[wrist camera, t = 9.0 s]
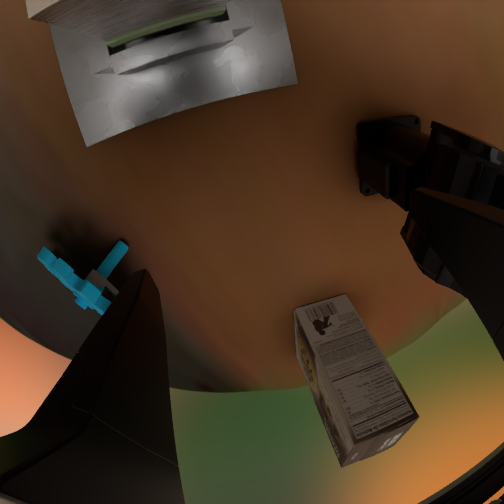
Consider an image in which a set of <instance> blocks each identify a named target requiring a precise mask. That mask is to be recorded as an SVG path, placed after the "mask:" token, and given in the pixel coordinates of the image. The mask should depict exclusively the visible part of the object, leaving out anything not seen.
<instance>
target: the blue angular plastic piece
mask: <svg viewBox="0 0 504 504" xmlns="http://www.w3.org/2000/svg"><path fill="white" fill-rule="evenodd" d="M128 249H129V248H128V246H127V245H126V244H125V243H123V242H122V241H118V243H117V244H116V245H115V246H114V248H113V249H112V250H111V252H110V253H109V254H108V256H107V257H106V258H105V260H104V261H103V262H102V264H101V265H100V266H99V268H98V269H97V270H94V269H92V271H91V272H90V273H89V275H88V276H87V277H86V279H85V280H82V279H80V278H79V277H78V276H77V275H75V274H74V273H73V272H74V270H73V269H72V268H71V267H70V266H69V265H68V264H67V263H65V262H64V261H63V260H62V259H61V258H58V260H57V258H56V257H55V256H54V254H53V253H52V252H50V251H49V250H48V249H47V248H45V247H43V248H42V250H41V251H40V252H39V254H38V255H37V258H38V259H39V260H40V261H41V262H42V263H43V264H44V266H45V267H46V268H47V269H48V270H49V271H50V272H51V273H53V274H54V275H55V276H56V277H57V278H58V279H59V280H60V281H61V282H62V283H63V284H64V285H65V286H66V287H68V288H69V289H70V290H72V291H73V294H74V295H75V296H77V299H76V300H75V302H76V303H77V304H78V305H80V306H81V307H82V308H83V309H86V308H87V306H89V307H90V308H92V309H96V310H97V312H98V313H100V314H101V315H103V314H104V312H105V311H106V309H107V308H108V307H109V305H110V304H111V301H109V300H107V299H106V298H104V297H103V296H102V295H101V293H102V291H103V290H104V289H105V290H107V291H108V292H109V293H110V294H111V295H112V296H113V297H114V298H115V297H116V296H117V294H118V293H119V291H118V290H117V289H116V288H115V287H114V286H113V285H112V284H111V283H110V282H109V281H108V280H107V277H108V276H109V275H110V273H111V272H112V271H113V269H114V268H115V266H116V265H117V264H118V262H119V261H120V260H121V258H122V257H123V256H124V254H125V253H126V252H127V250H128Z"/></svg>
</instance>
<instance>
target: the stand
mask: <svg viewBox="0 0 504 504" xmlns="http://www.w3.org/2000/svg"><path fill="white" fill-rule="evenodd" d="M225 7H226V10H225V12H224V13H223V14H222V15H219V16H217V17H216V18H211V19H207V20H202V21H198V22H194V23H190V24H186V25H182V26H179V27H175V28H171V29H168V30H165V31H161V32H158V33H155V34H152V35H149V36H146V37H143V38H140V39H138V40H135V41H132V42H129V43H127V44H124V45H122V46H115V47H110V46H107V45H106V42H105V41H103V40H100V39H98V38H95V37H92V36H89V35H86V34H83V33H80V32H76V31H73V30H70V29H66V28H63V27H60V26H56V25H52V24H49V25H50V29H51V34H52V38H53V42H54V46H55V50H56V54H57V58H58V61H59V65H60V69H61V72H62V76H63V79H64V82H65V86H66V89H67V92H68V95H69V98H70V101H71V104H72V107H73V110H74V113H75V116H76V119H77V122H78V125H79V127H80V130H81V133H82V136H83V138H84V141H85V143H86V146H87V147H88V146H91V145H93V144H95V143H97V142H100V141H102V140H104V139H107V138H109V137H111V136H114V135H116V134H119V133H121V132H124V131H126V130H129V129H131V128H134V127H137V126H139V125H142V124H145V123H147V122H150V121H153V120H156V119H159V118H162V117H165V116H168V115H171V114H174V113H177V112H180V111H183V110H186V109H190V108H193V107H197V106H200V105H204V104H207V103H211V102H215V101H218V100H222V99H226V98H230V97H234V96H239V95H243V94H248V93H252V92H257V91H262V90H267V89H272V88H277V87H283V86H289V85H295V84H298V80H297V75H296V70H295V64H294V59H293V54H292V49H291V45H290V40H289V35H288V31H287V26H286V22H285V17H284V13H283V9H282V5H281V1H280V0H228V1H227V3H226V4H225Z"/></svg>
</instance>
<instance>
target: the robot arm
mask: <svg viewBox="0 0 504 504" xmlns="http://www.w3.org/2000/svg"><path fill="white" fill-rule="evenodd" d="M414 120H415V123H414ZM363 126H365V129H364V130H362V127H363ZM430 128H432V129H431V134H430V136H428V135H426V134H424V133H422V132H420V118H419V117H418V116H415V115H408V116H399V117H391V118H383V119H375V120H368V121H362V122H359V123H358V125H357V136H358V150H357V156H358V176H359V178H360V191H361V193H362V194H363V195H364V196H369V195H373V194H377V193H379V194H381V195H382V196H383V197H385V198H386V199H391V200H392V201H394V202H395V203H396V204H397V205H399V206H400V207H401V208H402V209H404V210H405V211H409V213H408V216H407V219H406V222H405V224H404V226H403V227H402V229H401V232H400V234H401V236H402V238H403V239H404V241H405V243H406V245H407V247H408V249H409V251H410V253H411V254H412V256H413V259H414V261H415V262H416V264H417V266H418V267H419V269H420V270H421V271H422V273H423V274H424V275H426V276H428V277H429V278H431V279H432V280H434V281H435V282H436V283H438V284H440V285H443V286H446V287H449V288H451V289H453V290H455V291H456V292H458V293H460V294H462V295H463V296H464V297H466V298H467V299H468V300H469V302H470V303H471V305H472V306H473V308H474V309H475V311H476V313H477V314H478V316H479V318H480V319H481V321H482V323H483V324H484V326H485V328H486V329H487V331H488V333H489V334H490V336H491V338H492V339H493V342H494V344H495V346H496V347H497V349H498V351H499V353H500V355H501V357H502V359H503V361H504V152H503V151H501V150H500V149H498V148H496V147H495V146H493V145H491V144H489V143H487V142H485V141H483V140H480V139H478V138H476V137H474V136H472V135H469V134H467V133H465V132H462V131H460V130H457V129H454V128H452V127H449V126H446V125H444V124H441V123H438V122H435V121H432V122H431V127H430ZM367 188H368V189H367ZM366 189H367V191H365V190H366ZM503 486H504V442H503V443H502V444H501V445H500V446H499V447H497V448H496V449H495V450H494V451H493V452H492V453H490V454H489V455H488V456H487V457H486V458H485V459H483V460H482V461H481V462H479V463H478V464H477V465H475V466H474V467H473V468H471V469H470V470H469V471H467V472H466V473H465V474H463V475H462V476H460V477H459V478H458V479H456V480H455V481H453V482H452V483H450V484H449V485H447V486H446V487H444V488H443V489H441V490H440V491H438V492H436V493H435V494H433V495H431V496H430V497H428V498H427V499H425V500H423V501H421V502H420V503H418V504H483V503H484V502H485V501H487V500H488V499H489V498H490V497H492V496H493V495H494V494H495V493H496V492H497V491H499V490H500V489H501V488H502V487H503ZM0 504H185V501H184V495H183V490H182V484H181V478H180V472H179V467H178V460H177V453H176V446H175V438H174V430H173V421H172V411H171V401H170V391H169V377H168V363H167V345H166V334H165V327H164V321H163V314H162V308H161V301H160V294H159V291H158V288H157V286H156V284H155V282H154V281H153V279H152V277H151V275H150V273H149V272H148V270H146V269H142V270H139V271H136V272H134V273H133V274H132V275H131V277H130V278H129V279H128V281H127V282H126V283H125V285H124V286H123V287H122V289H121V290H120V291H119V293H118V294H117V296H116V297H115V298H114V300H113V301H112V302H111V304H110V305H109V307H108V308H107V309H106V311H105V312H104V314H103V315H102V316H101V318H100V319H99V321H98V322H97V324H96V325H95V327H94V328H93V329H92V331H91V332H90V334H89V335H88V337H87V338H86V340H85V341H84V343H83V344H82V346H81V347H80V349H79V350H78V353H76V355H75V356H74V358H73V360H72V361H71V363H70V364H69V366H68V367H67V369H66V370H65V372H64V373H63V375H62V376H61V378H60V379H59V381H58V382H57V383H56V385H55V386H54V388H53V389H52V390H51V392H50V393H49V395H48V396H47V397H46V399H45V400H44V402H43V403H42V405H41V406H40V407H39V409H38V410H37V412H36V413H35V415H34V416H33V418H32V419H31V420H30V421H29V422H28V424H26V425H25V426H24V427H23V428H21V429H20V430H18V431H16V432H14V433H11V434H8V435H5V436H2V437H0ZM489 504H504V494H503V495H502V496H501V497H500V498H499V499H497V500H494V501H491V502H490V503H489Z"/></svg>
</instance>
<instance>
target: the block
mask: <svg viewBox="0 0 504 504" xmlns="http://www.w3.org/2000/svg"><path fill="white" fill-rule="evenodd" d="M227 1H228V0H26V6H27V12H28V17H29V19H32V20H37V21H41V22H45V23H48V24H52V25H56V26H60V27H63V28H66V29H70V30H73V31H76V32H80V33H83V34H86V35H89V36H92V37H95V38H98V39H100V40H103V41H105V42H106V45H107V46H110V47H115V46H122V45H124V44H127V43H129V42H132V41H135V40H138V39H140V38H143V37H146V36H149V35H152V34H155V33H158V32H161V31H165V30H168V29H171V28H175V27H179V26H182V25H186V24H190V23H194V22H198V21H202V20H207V19H211V18H216V17H217V16H219V15H222V14H223V13H224V12H225V10H226V7H225V4H226V3H227Z"/></svg>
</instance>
